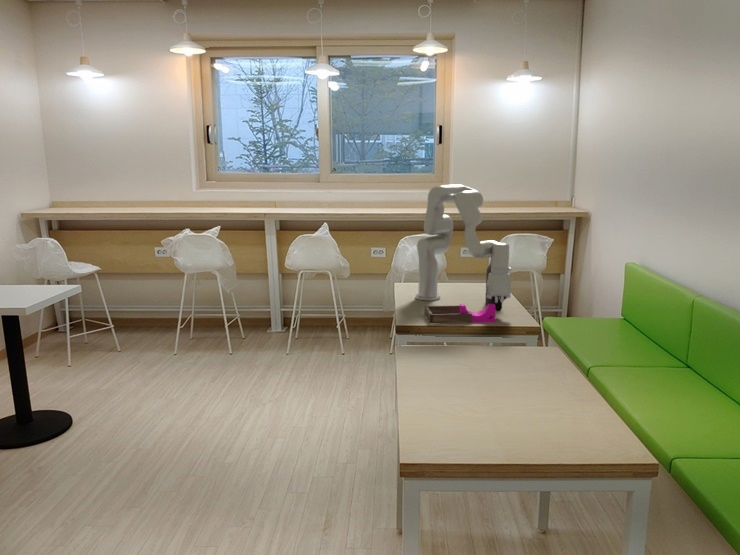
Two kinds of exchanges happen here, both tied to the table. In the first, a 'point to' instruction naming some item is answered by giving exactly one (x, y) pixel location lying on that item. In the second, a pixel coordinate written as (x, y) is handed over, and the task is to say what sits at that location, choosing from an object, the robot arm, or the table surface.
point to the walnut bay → (447, 314)
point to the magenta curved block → (481, 313)
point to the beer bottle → (488, 301)
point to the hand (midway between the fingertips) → (497, 310)
